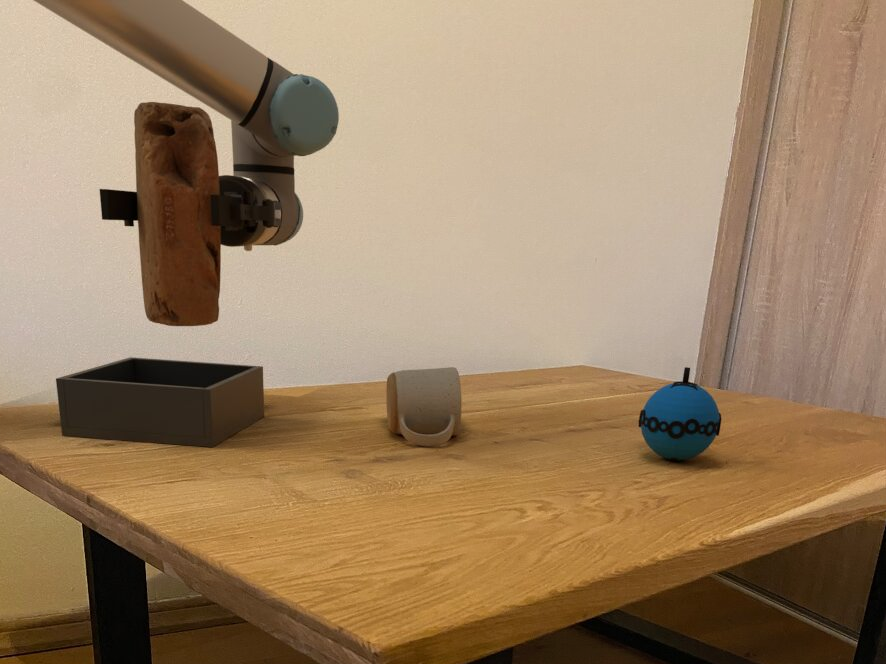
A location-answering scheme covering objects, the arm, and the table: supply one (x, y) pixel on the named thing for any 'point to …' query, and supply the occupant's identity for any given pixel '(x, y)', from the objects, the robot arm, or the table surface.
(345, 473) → the table surface
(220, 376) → the bin
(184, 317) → the block
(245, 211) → the robot arm
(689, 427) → the ornament
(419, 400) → the ceramic mug
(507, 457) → the table surface
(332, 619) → the table surface
